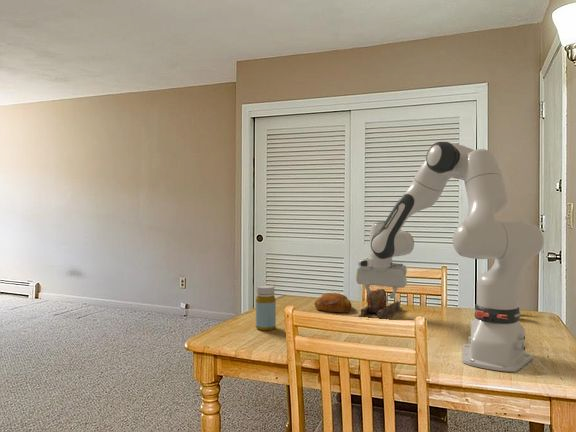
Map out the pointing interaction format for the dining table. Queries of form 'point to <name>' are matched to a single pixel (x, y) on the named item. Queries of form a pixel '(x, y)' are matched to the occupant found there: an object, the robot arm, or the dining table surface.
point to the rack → (382, 311)
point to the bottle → (265, 308)
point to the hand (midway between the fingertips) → (381, 296)
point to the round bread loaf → (333, 303)
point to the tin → (377, 300)
